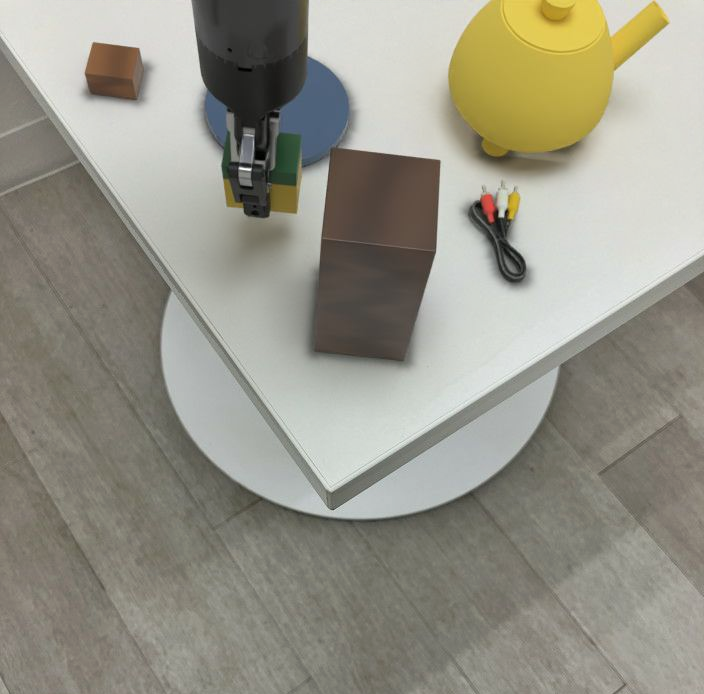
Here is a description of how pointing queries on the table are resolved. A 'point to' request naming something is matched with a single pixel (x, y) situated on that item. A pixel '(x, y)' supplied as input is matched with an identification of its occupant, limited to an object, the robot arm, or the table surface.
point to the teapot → (541, 70)
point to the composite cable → (500, 226)
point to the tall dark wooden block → (375, 251)
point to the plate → (302, 113)
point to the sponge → (275, 174)
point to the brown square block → (114, 70)
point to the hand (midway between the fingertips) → (260, 191)
